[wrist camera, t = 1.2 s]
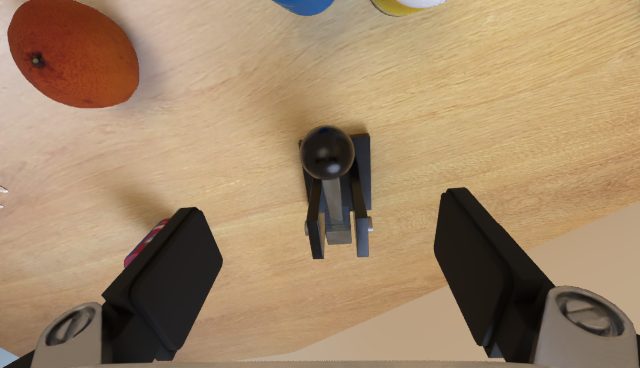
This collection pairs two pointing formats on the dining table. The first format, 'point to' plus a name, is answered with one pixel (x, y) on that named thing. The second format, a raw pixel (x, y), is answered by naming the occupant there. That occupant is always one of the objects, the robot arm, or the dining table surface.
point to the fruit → (73, 53)
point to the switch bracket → (343, 200)
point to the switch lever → (330, 175)
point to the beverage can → (305, 6)
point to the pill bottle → (403, 6)
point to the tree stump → (1, 189)
